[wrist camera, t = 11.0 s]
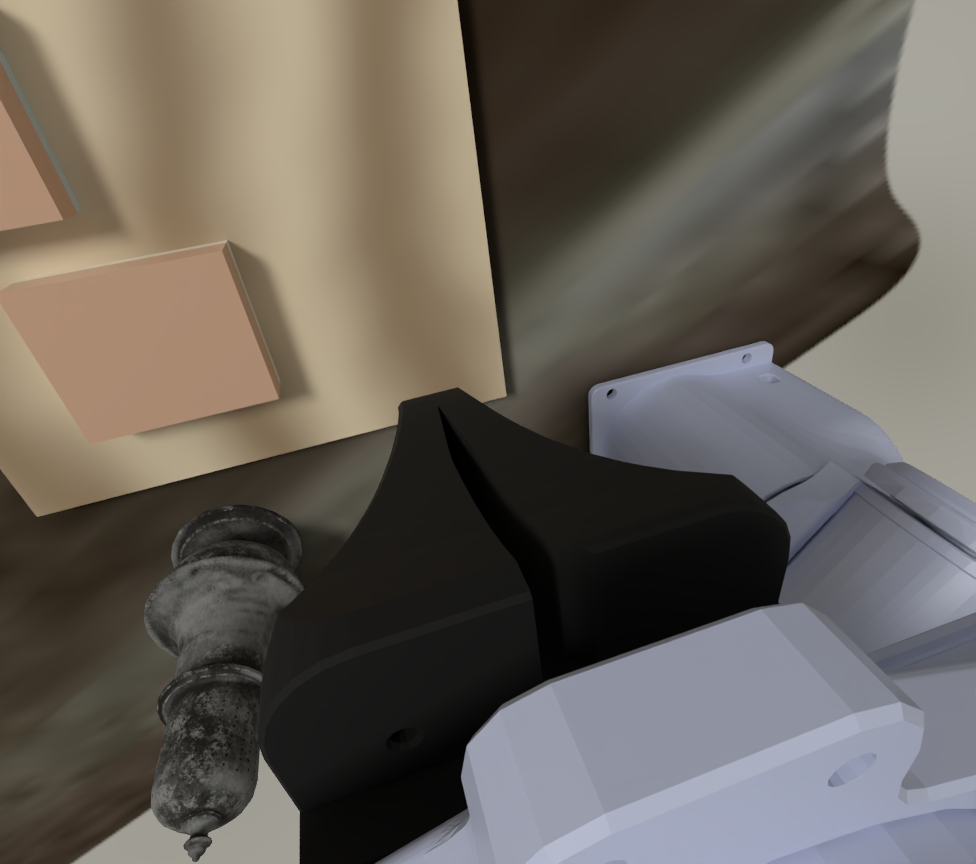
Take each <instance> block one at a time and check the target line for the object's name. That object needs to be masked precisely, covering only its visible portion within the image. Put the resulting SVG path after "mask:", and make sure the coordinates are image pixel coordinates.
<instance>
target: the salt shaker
mask: <svg viewBox="0 0 976 864" xmlns="http://www.w3.org/2000/svg"><path fill="white" fill-rule="evenodd" d="M301 555H302V546H301V539H300V537H299V535H298V533H297V531H296V529H295V528H294V527H293V526H292V525H291V524H290V523H289V522H288V521H287V520H286V519H285V518H283V517H281V516H279V515H278V514H276V513H274V512H272V511H269V510H266V509H263V508H260V507H255V506H245V505H234V506H224V507H219V508H216V509H212V510H209V511H206V512H203V513H202V514H200V515H198V516H196V517H195V518H193V519H191V520H190V521H189V522H188V523H187V524H186V525H185V526H184V527H183V528H182V529H180V530H179V532H178V534H177V536H176V538H175V540H174V542H173V545H172V553H171V559H172V563H173V566H174V569H173V570H172V571H171V572H170V573H169V574H168V575H167V576H166V577H165V578H164V579H163V580H162V581H161V582H160V583H159V584H158V585H157V586H156V587H155V588H154V589H153V591H152V592H151V594H150V596H149V598H148V600H147V602H146V604H145V612H144V622H145V626H146V629H147V632H148V634H149V636H150V637H151V638H152V639H153V640H154V642H155V643H156V644H157V645H158V646H159V647H160V648H161V649H163V650H164V651H166V652H168V653H169V654H171V655H172V656H174V657H176V658H178V662H177V666H176V671H175V675H174V679H173V681H172V682H171V683H170V684H168V685H167V686H166V687H165V688H164V690H163V691H162V693H161V695H160V697H159V698H158V704H157V713H158V716H159V718H160V720H161V721H162V722H163V723H164V724H165V726H166V728H165V732H164V737H163V741H162V746H161V750H160V755H159V759H158V764H157V768H156V773H155V778H154V782H153V787H152V793H151V808H152V810H153V813H154V815H155V816H156V818H157V819H158V821H159V822H160V823H161V824H162V825H163V826H164V827H167V828H169V829H171V830H174V831H176V832H179V833H185V834H188V835H190V839H189V840H188V841H186V842H185V844H184V849H185V850H187V851H188V855H189V856H190V857H191V858H192V861H193V862H197V861H198V860H199V858H200V856H202V855H203V854H204V853H205V851H206V848H207V847H209V846H210V845H211V843H212V840H211V838H210V837H208V833H209V832H211V831H212V830H215V829H217V828H220V827H221V826H223V825H225V824H227V823H228V822H230V821H231V820H233V819H235V818H236V817H237V816H238V815H239V814H241V813H242V811H243V810H244V808H245V807H246V806H247V805H248V803H249V802H250V801H251V799H252V797H253V795H254V791H255V788H256V784H257V780H258V766H259V765H258V764H259V751H260V747H259V745H258V726H259V709H260V692H261V682H262V676H263V669H264V665H265V661H266V656H267V651H268V647H269V643H270V639H271V635H272V631H273V627H274V624H275V620H276V617H277V615H278V613H279V612H281V611H282V610H283V609H284V608H285V607H286V606H287V605H288V604H289V603H290V602H291V601H292V600H294V599H295V598H296V597H297V596H298V595H299V594H300V593H301V592H302V591H303V590H304V589H305V588H304V586H303V584H302V582H301V581H300V580H299V578H298V576H297V575H296V573H295V570H296V569H297V567H298V566H299V563H300V559H301Z"/></svg>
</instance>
